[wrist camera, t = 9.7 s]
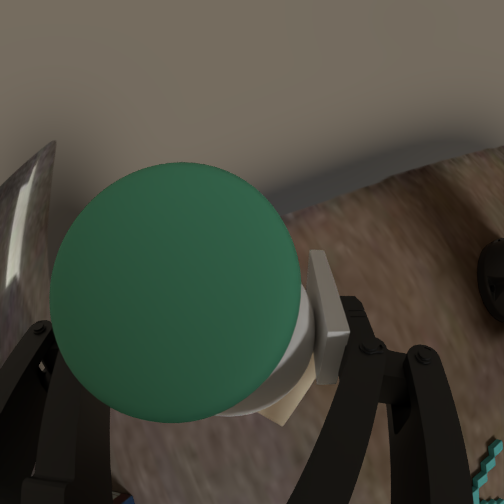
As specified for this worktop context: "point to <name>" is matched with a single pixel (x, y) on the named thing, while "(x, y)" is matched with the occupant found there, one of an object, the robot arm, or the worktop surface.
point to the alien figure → (482, 476)
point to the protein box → (122, 498)
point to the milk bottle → (181, 297)
